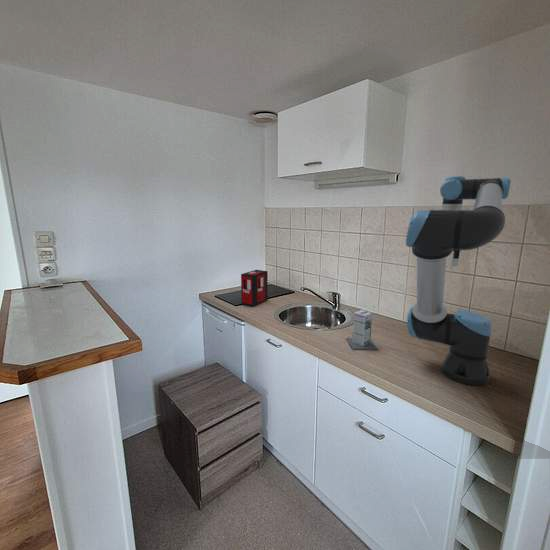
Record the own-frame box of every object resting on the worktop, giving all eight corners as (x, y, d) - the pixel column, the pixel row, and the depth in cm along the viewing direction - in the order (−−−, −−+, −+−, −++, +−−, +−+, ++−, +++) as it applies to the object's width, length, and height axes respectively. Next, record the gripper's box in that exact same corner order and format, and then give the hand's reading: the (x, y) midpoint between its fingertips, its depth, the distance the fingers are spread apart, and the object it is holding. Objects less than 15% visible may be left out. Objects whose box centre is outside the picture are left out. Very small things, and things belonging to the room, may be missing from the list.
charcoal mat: (377, 349, 134) (377, 348, 133) (352, 350, 133) (352, 348, 133) (369, 339, 144) (369, 337, 144) (346, 339, 144) (346, 337, 144)
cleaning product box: (256, 298, 208) (256, 269, 204) (267, 300, 204) (267, 271, 200) (241, 304, 195) (241, 274, 190) (253, 307, 190) (252, 275, 186)
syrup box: (363, 346, 135) (365, 315, 132) (351, 342, 139) (353, 312, 136) (370, 343, 138) (372, 312, 135) (359, 338, 143) (361, 309, 140)
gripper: (479, 215, 119) (471, 268, 123) (443, 213, 143) (437, 258, 148) (460, 215, 119) (452, 268, 123) (427, 213, 143) (422, 258, 148)
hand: (444, 263), depth 136 cm, fingers open, 13 cm apart
